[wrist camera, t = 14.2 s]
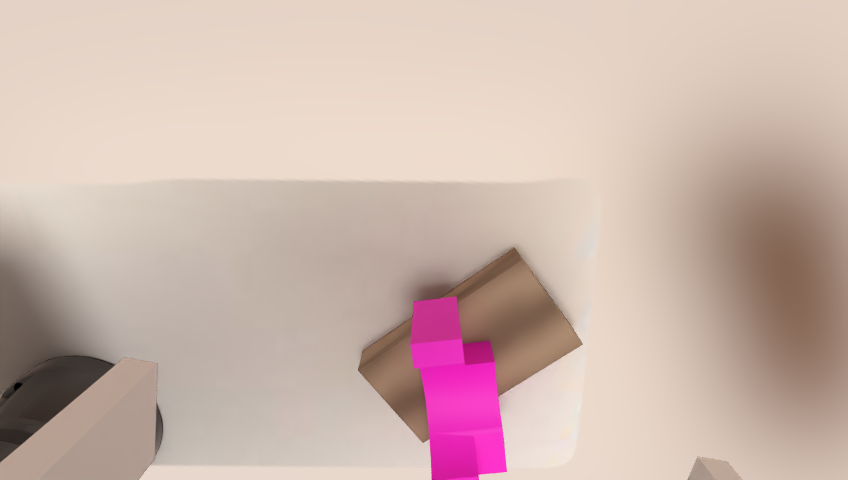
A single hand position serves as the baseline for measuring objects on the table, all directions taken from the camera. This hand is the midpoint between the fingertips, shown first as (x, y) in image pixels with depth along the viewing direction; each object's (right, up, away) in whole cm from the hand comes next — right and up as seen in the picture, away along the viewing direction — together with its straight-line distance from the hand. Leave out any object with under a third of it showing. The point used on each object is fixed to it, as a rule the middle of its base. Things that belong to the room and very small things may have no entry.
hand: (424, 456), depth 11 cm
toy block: (+3, -7, +32) cm, 33 cm away
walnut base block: (+4, -4, +35) cm, 35 cm away
